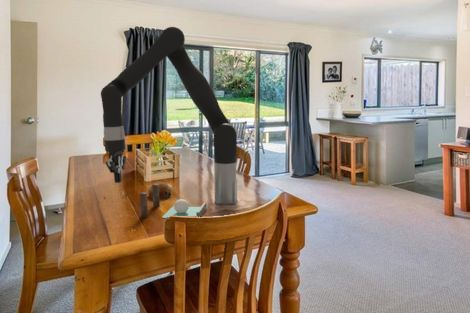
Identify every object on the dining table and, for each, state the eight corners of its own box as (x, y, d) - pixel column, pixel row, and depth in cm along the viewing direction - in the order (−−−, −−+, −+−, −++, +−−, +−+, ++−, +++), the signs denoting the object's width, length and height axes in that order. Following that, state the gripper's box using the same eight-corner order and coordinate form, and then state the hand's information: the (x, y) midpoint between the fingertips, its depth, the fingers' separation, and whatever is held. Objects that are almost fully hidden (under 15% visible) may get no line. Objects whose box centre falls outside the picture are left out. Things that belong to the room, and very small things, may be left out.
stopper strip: (206, 208, 142) (206, 202, 141) (199, 218, 130) (199, 212, 130) (204, 208, 142) (203, 202, 141) (196, 218, 130) (196, 212, 130)
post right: (160, 205, 146) (159, 184, 144) (158, 207, 144) (157, 185, 142) (154, 204, 146) (153, 183, 145) (152, 206, 144) (151, 185, 142)
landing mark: (207, 207, 143) (207, 207, 143) (198, 219, 129) (198, 219, 129) (173, 206, 145) (173, 205, 145) (161, 218, 131) (161, 217, 131)
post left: (148, 215, 134) (147, 192, 132) (146, 217, 131) (145, 194, 130) (142, 215, 134) (141, 192, 133) (139, 217, 132) (138, 194, 130)
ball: (183, 194, 138) (174, 203, 139) (178, 198, 132) (169, 207, 134) (193, 204, 138) (184, 213, 139) (188, 209, 132) (179, 218, 134)
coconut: (165, 199, 166) (159, 183, 167) (178, 194, 160) (172, 177, 160) (147, 204, 159) (142, 188, 159) (160, 199, 152) (154, 181, 153)
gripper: (115, 140, 128) (119, 186, 131) (131, 136, 141) (134, 178, 144) (96, 140, 129) (100, 186, 133) (113, 136, 142) (117, 178, 145)
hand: (118, 182), depth 138 cm, fingers closed
